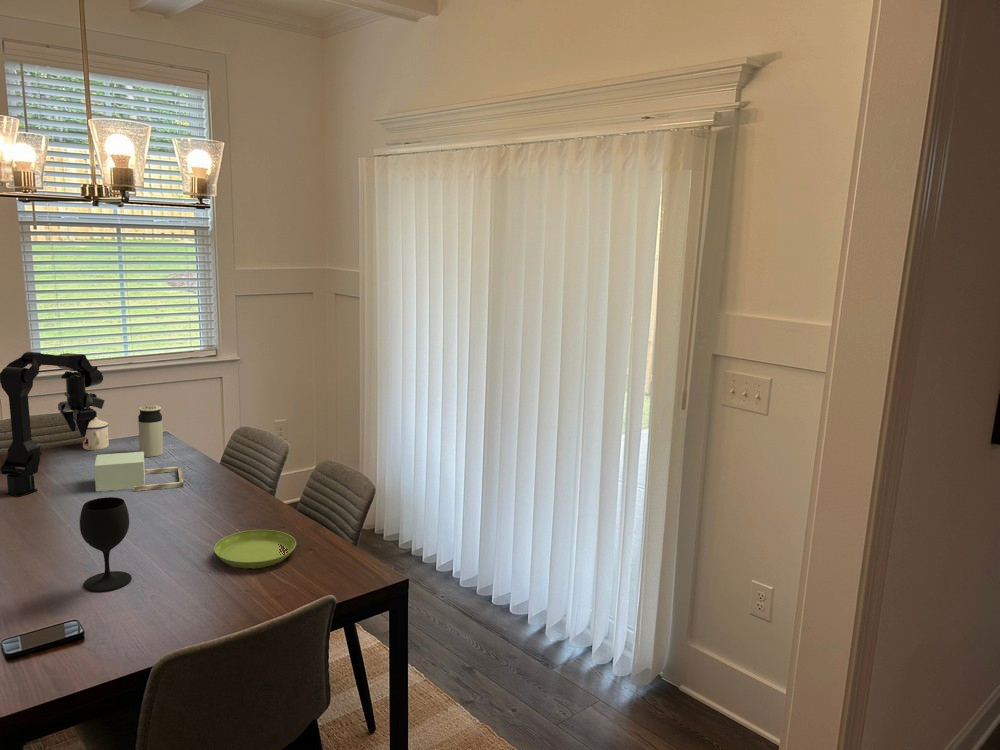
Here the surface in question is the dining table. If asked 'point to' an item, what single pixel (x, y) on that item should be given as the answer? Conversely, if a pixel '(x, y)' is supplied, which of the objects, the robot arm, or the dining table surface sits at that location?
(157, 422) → the travel mug
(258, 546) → the saucer
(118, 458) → the sage box
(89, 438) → the teacup with lid
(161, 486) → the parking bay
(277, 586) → the dining table surface
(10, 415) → the robot arm
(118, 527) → the wine glass
